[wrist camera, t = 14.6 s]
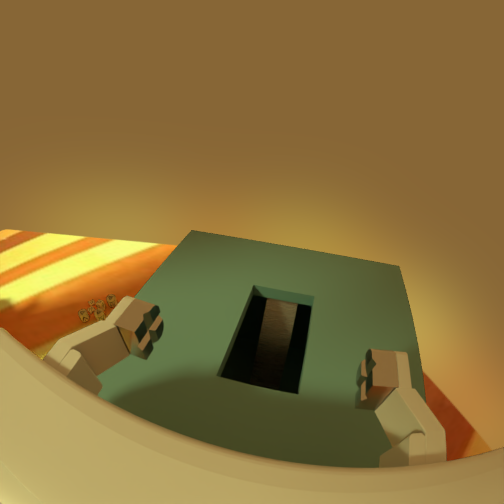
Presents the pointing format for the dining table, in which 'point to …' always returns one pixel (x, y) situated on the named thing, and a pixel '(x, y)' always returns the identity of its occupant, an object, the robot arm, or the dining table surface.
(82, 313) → the dice set
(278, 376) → the brown upright bar
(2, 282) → the dining table surface
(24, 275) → the dining table surface
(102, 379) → the coin box
